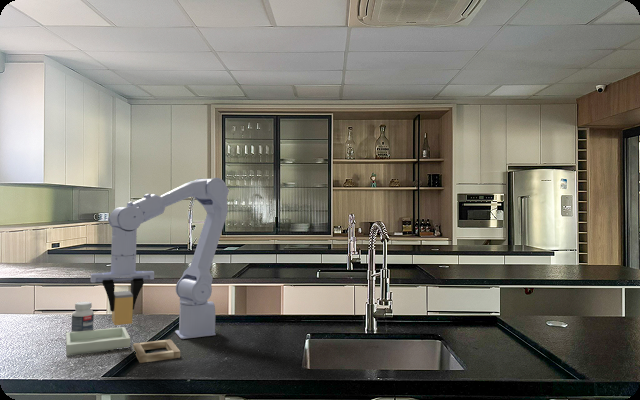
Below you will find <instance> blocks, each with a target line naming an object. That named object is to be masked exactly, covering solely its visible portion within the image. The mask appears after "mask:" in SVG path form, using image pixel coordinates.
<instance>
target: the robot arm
mask: <svg viewBox="0 0 640 400" xmlns="http://www.w3.org/2000/svg"><path fill="white" fill-rule="evenodd" d="M229 192H230V189H229V187H228V186H227V184H226V183H225V181H224V180H223V179H222V178H220V177H213V178H197V179H195V180H191V181H188V182H186V183H183V184H181V185H180V186H178V187H175V188H173V189H172V190H169V191H167V192H165V193H164V194H161V195H157V194H155V193H152V194H151V193H146V194H144V195H143V198H140V199H138V200H135V201H134V202H133V201H129V202H127V203H126V206H119V207H116V208H114V209H113V210H112V212H110V215H109V217H108V218H107V220H108V223H109V224H108V225H110V227H111V228H112V229H111V230H112V232H111V251H110V252H111V253H110V254H111V257H110V258H111V259H110V260H111V261H110V271H108V272H95V273H90V283H97V282H99V283H101V284H102V286H103V288H104V290H105V293H106V296H107V299H108V303H109V309H110V310H109V311H110V312H112V311H114V292H115V287H116V286H115V282H116V281H118V282H120V281H130V292H131V293H132V294H133V310H135V305H136V302H137V299H138V297H139V296H138V295H139V293H140V291H141V289H142V288H143V286H144V283H145V282H144V280H155V271H153V270H136V269H137V268H136V267H137V266H136V265H137V240H138V239H137V237H138V235H137V233H138V232H137V231H138V228H140V226H141V224H144V223H145V222H148V221H149V220H151V219H154V218H156V217H159V216H160V215H163V214H164V212H165V210H166V207H169V206H172V205H174V204H177V203H178V202H180V201H181V202H182V201H184V200H186V199H189V198H194V199H196V201H197V202H199V204H200V205H201V206H203V208H204V210H205V212H206V216H205V219H204V224H203V225H202V228H201V232H200V234H199V238H198V241H197V244H196V248H195V250H194V254H193V257H192V259H191V260H192V261H191V263H190V266H188V267H187V268H186V269H185V270H184V271H183V273H182V276H181V277H180V279H179V280H178V281H177V283H176V285H175V293H176V295H177V297H179V320H178V321H179V323H178V325H179V327H178V328H179V329H177V330H175V331H174V334H175V333H176V335H177V336H178V338H180V339H181V340H184V339H193V338H201V337H202V338H203V337H211V336H216V307H215V302H214V301H210V300H209V299H210V298H211V296H212V292H213V291H212V290H213V288H212V283H213V280H214V279H213V276H212V273H211V271H210V269H211V267H212V263H213V260H214V258H215V255H216V250H217V248H218V245H219V242H220V239H221V234H222V232H223V228H224V225H225V222H226V219H227V216H228V212H229V210H228V195H229Z"/></svg>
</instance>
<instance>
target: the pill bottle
mask: <svg viewBox="0 0 640 400" xmlns="http://www.w3.org/2000/svg"><path fill="white" fill-rule="evenodd" d="M92 305H93V304H92V302H91V301H78V302H75V304H74V309H75V311H73V312H72V314H71V329H70V330H71V331H70V332H78V331H88V330H94V317H95V315H94V314H95V313H94V311H93V310H92Z"/></svg>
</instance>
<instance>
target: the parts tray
mask: <svg viewBox="0 0 640 400" xmlns="http://www.w3.org/2000/svg"><path fill="white" fill-rule="evenodd" d="M129 346H130V347H131V337H130V335H129V333H128V331H127V329H126V326H122V327H110V328H109V327H108V328H100V329H93V330H88V331H78V332H71V331H68V332H66V333H65V350H66V357H67V356H74V355H76V356H77V355H82V354H83V355H85V354H93V353H101V351H102V352H109V351H108V350H111V351H114V350H113V349H117V348H124V347H129Z"/></svg>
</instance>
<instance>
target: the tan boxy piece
mask: <svg viewBox="0 0 640 400" xmlns="http://www.w3.org/2000/svg"><path fill="white" fill-rule="evenodd" d="M111 321H112V322H113V325H114V326H122V325H130V324H131V325H132V324H133V294H132V293H131V290H124V291H114V311H111Z"/></svg>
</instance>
